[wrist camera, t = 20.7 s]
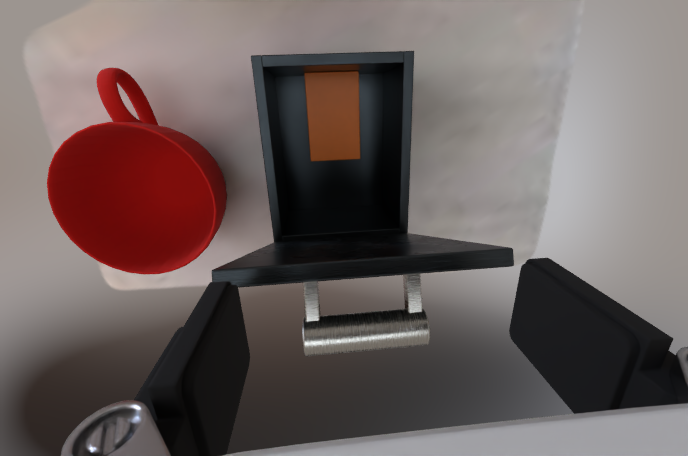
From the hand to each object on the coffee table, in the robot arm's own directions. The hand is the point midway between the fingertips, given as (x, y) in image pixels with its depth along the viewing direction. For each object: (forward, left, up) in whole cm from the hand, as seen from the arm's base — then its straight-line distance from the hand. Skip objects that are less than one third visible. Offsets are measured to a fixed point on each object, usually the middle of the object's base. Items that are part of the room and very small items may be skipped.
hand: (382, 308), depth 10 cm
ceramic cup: (-1, -17, -28) cm, 33 cm away
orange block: (-5, 0, -27) cm, 27 cm away
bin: (-2, 0, -28) cm, 28 cm away
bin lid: (+2, 0, -11) cm, 11 cm away
